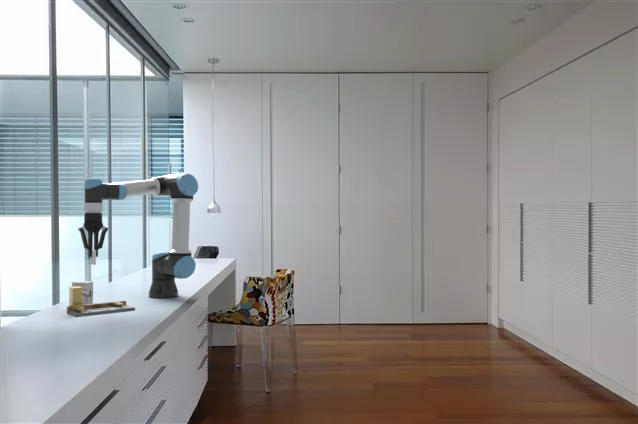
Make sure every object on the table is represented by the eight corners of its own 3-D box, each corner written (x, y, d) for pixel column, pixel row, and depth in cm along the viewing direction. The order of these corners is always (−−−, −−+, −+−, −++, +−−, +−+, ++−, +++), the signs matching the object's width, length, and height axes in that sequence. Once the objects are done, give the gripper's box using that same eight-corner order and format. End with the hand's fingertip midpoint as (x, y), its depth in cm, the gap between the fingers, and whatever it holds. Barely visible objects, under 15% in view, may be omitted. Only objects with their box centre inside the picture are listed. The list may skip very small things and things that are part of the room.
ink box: (70, 307, 274) (70, 282, 274) (76, 305, 279) (76, 280, 279) (88, 307, 273) (88, 282, 273) (93, 305, 278) (93, 281, 278)
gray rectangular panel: (128, 307, 272) (128, 304, 272) (135, 310, 266) (135, 306, 266) (70, 314, 256) (70, 310, 255) (76, 316, 249) (76, 313, 249)
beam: (124, 306, 276) (124, 300, 276) (132, 309, 269) (132, 302, 269) (66, 312, 259) (66, 306, 259) (73, 315, 252) (73, 308, 252)
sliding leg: (78, 310, 263) (78, 286, 263) (86, 313, 255) (86, 288, 255) (69, 311, 261) (69, 287, 261) (76, 314, 253) (77, 289, 253)
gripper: (104, 212, 271) (104, 263, 271) (75, 212, 263) (75, 264, 263) (110, 212, 266) (110, 264, 265) (81, 212, 257) (81, 265, 257)
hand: (93, 264), depth 264 cm, fingers closed
